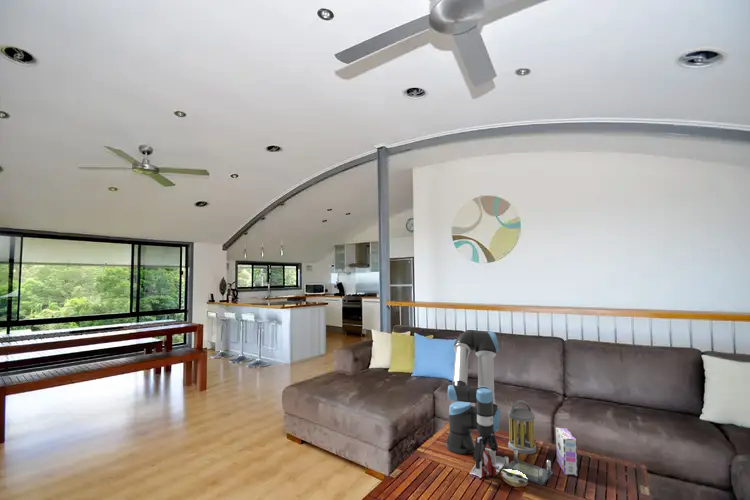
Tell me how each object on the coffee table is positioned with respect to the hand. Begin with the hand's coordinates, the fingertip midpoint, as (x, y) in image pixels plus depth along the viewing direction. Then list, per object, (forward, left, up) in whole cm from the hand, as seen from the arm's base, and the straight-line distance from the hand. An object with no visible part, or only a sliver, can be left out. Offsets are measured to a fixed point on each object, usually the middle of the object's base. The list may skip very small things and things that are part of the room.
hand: (486, 469), depth 173 cm
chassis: (+14, +14, -1) cm, 20 cm away
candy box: (+26, +31, -2) cm, 40 cm away
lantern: (+2, +37, -2) cm, 37 cm away
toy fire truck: (0, 0, -2) cm, 2 cm away
